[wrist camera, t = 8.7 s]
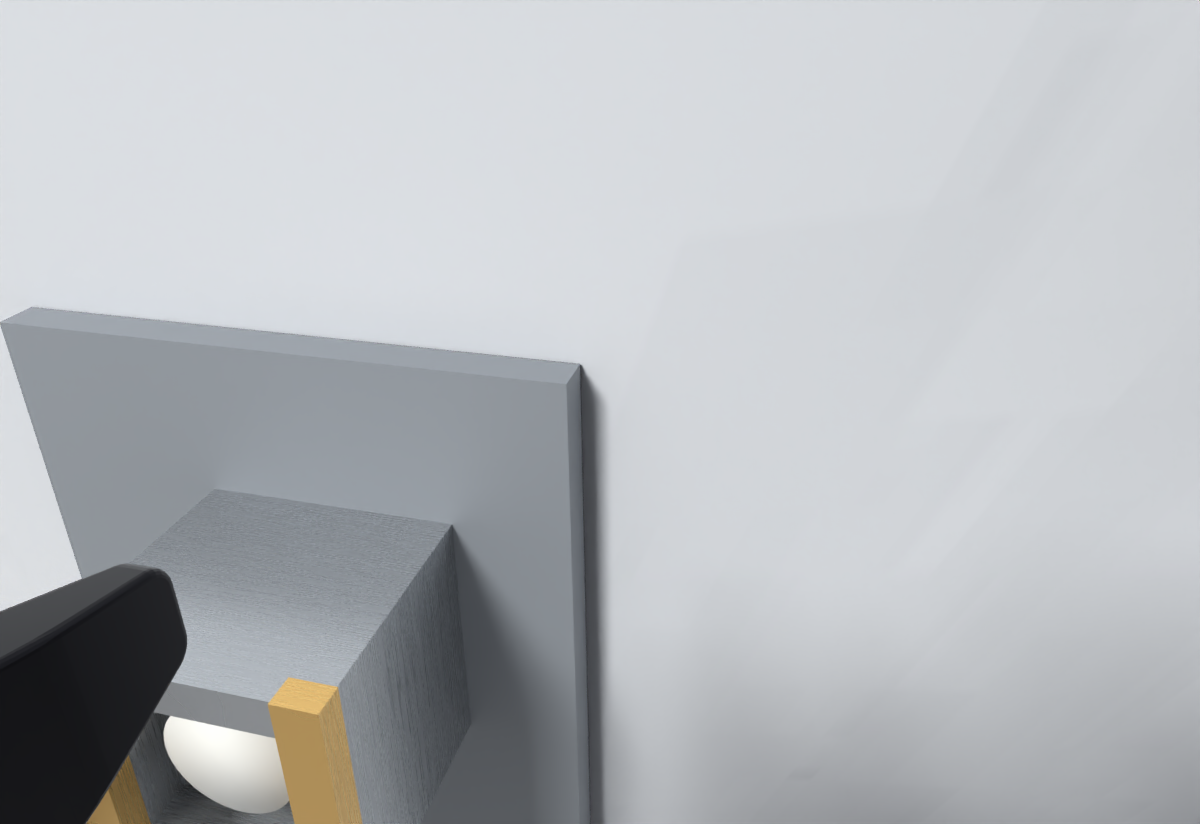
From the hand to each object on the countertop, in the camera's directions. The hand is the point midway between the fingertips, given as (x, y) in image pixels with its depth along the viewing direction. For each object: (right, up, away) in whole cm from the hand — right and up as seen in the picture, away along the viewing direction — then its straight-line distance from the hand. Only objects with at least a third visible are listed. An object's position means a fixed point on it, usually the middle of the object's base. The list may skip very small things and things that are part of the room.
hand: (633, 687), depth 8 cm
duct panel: (-7, -4, +18) cm, 20 cm away
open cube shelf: (-7, -3, +16) cm, 18 cm away
